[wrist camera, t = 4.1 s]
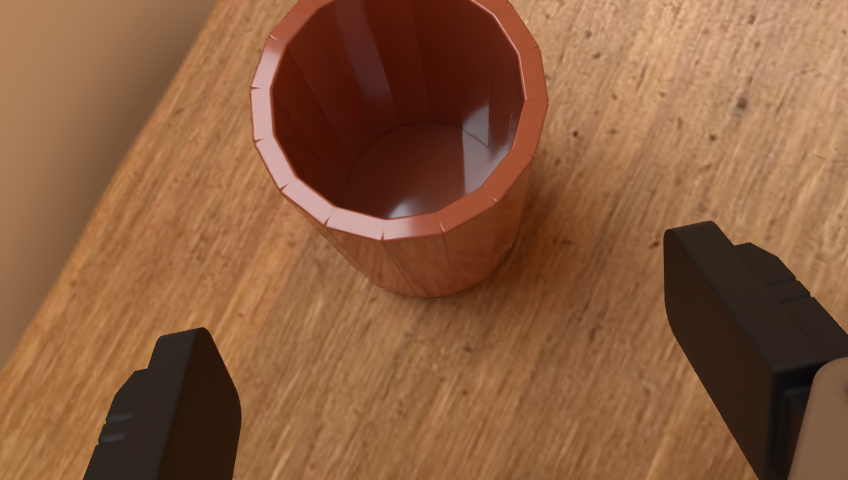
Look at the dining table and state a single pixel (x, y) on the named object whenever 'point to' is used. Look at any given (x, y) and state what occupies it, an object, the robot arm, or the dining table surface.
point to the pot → (404, 132)
